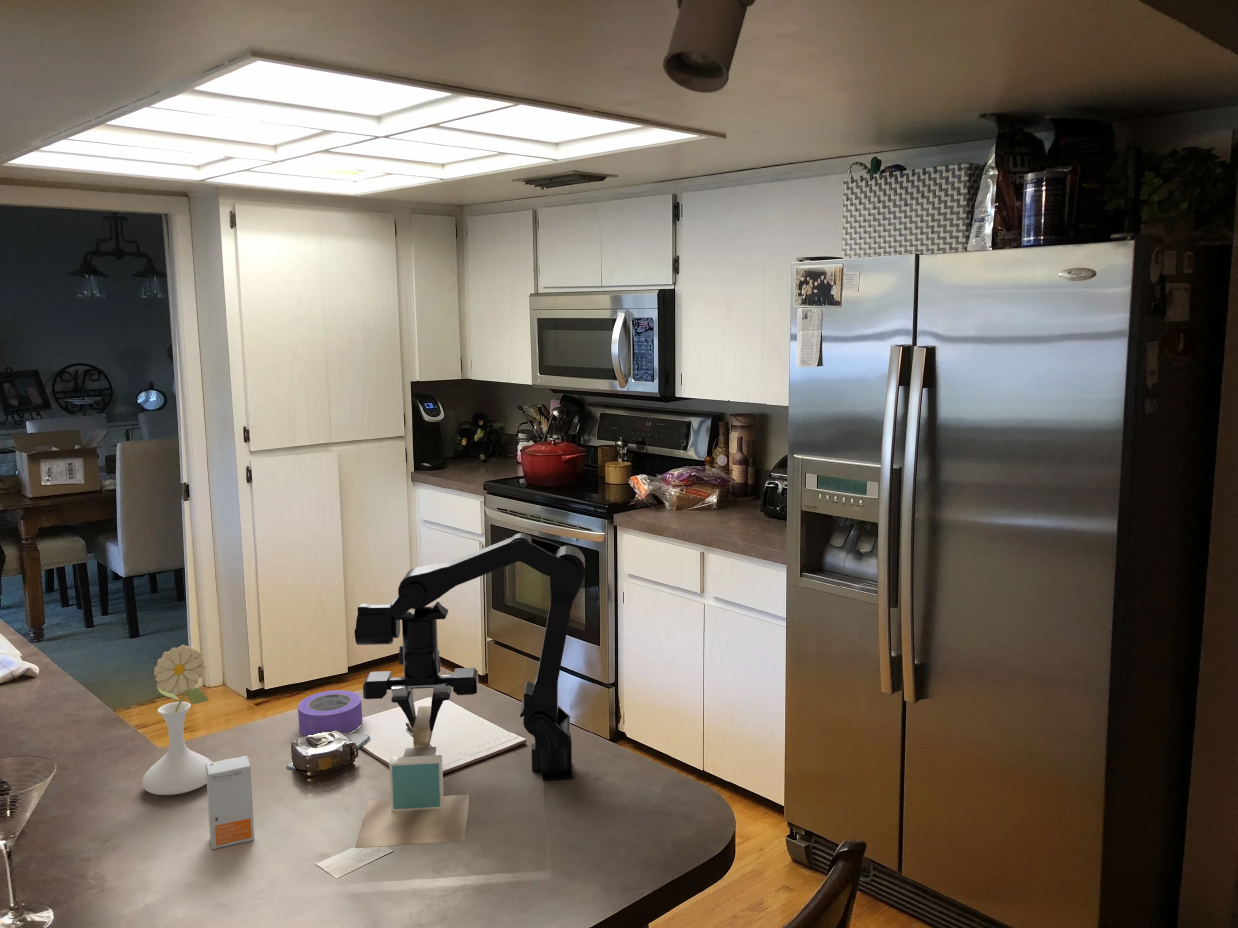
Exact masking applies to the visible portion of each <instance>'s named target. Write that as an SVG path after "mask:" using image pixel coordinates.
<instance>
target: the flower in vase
mask: <svg viewBox="0 0 1238 928" xmlns="http://www.w3.org/2000/svg"><path fill="white" fill-rule="evenodd" d="M156 662H157V665H156V666H155V667H154V668H153V669H154V672H153V674H154V676H155V679H154V680H155V681H156V682H157V684H156V689H157V690H158V692H159V694H161V695H163V696H165V697H167V698H169V699H173V700H176V702H175V701H174V702H169V703H166V704H164V705H161V706H160V707H159V708H158V709H157V713H158V714H159V715H160V716H162V718H163V719H164V721H165V724H166V727H167V732H168V738H169V741H168V742H169V747H168V750H167V752H165V754H164V755H163V756H162V757H161V758H159V760H157V761H156V762H155V763H154V764H153V765H152V766H150V768H149V769H148V770H147V771H146V772H145V774H144V775H143V778H142V780H141V786H142V787H143V789H144V790H145V791H147V792H148V793H149V794H153V795H159V796H174V795H180V794H185V793H188V792H189V793H190V792H191V791H195V790H197V789H199V788H202V787H203V786H205V785H207V779H206V766H205V764H207V763H213V761H212V760H210V758H208V757H206V756H204V755H202V754H200V753H197V752H196V751H193V750H191V749H190V748H188V747H187V745H186V742H185V736H184V735H185V734H184V733H185V732H184V729H185V720H186V716H187V714H188V711H189V710H190V708H191V707H192V705H191V704H193V705H198V704H202V703H204V702H208V701H210V700H209V698H208V696H207V695H206V694H205V693H204V692H203V690H202V689H201V688H200V687H196V685H198V684H199V679H201V678H202V677H203V674H204V670H206V664H204V662H205V659H204V658H203V653H202V652H200V651H199V650H198V649H196V648H192V647H191V646H188V645H185V644H181V645H180V646H178V647H172V648H170V650H168V651H164V652H163V653H162V656H161V658H158V659H157V661H156ZM182 693H183V695H182V696H181V698H180V699H179V698H178V697H177V695H178V694H182ZM185 697H187V699H188V701H189V702H187V701H183V700H184V699H185Z"/></svg>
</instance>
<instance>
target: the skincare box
mask: <svg viewBox="0 0 1238 928" xmlns="http://www.w3.org/2000/svg"><path fill="white" fill-rule="evenodd" d="M212 762H213V761H212ZM250 763H251V762H250V760H249V756H248V755H243V756H238V757H231V758H226V759H222V760H219V761H214V762H213V763H207V764H205V766H206V779H207V783H206V792H207V793H206V794H207V809H208V810H207V811H208V823H209V824H208V825H209V837H210V843H211V849H212V850H216V849H219V848H223V847H228V846H232V845H237V844H242V843H247V842H252V841H254V840H255V829H254V827H255V826H254V811H253V810H254V808H253V790H252V788H253V787H252V767H251V764H250Z"/></svg>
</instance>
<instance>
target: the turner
mask: <svg viewBox="0 0 1238 928" xmlns="http://www.w3.org/2000/svg"><path fill="white" fill-rule="evenodd" d="M430 715H431V705H427V706H418V708H417V711H416V719H415V723H414V726H413V729H412V737H413V747H406V748H405V750H404V754H403V756H402V757H415V756H434V755H437V746H430V745H431V741H432V736H433V731H434V730H433V731H430Z"/></svg>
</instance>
